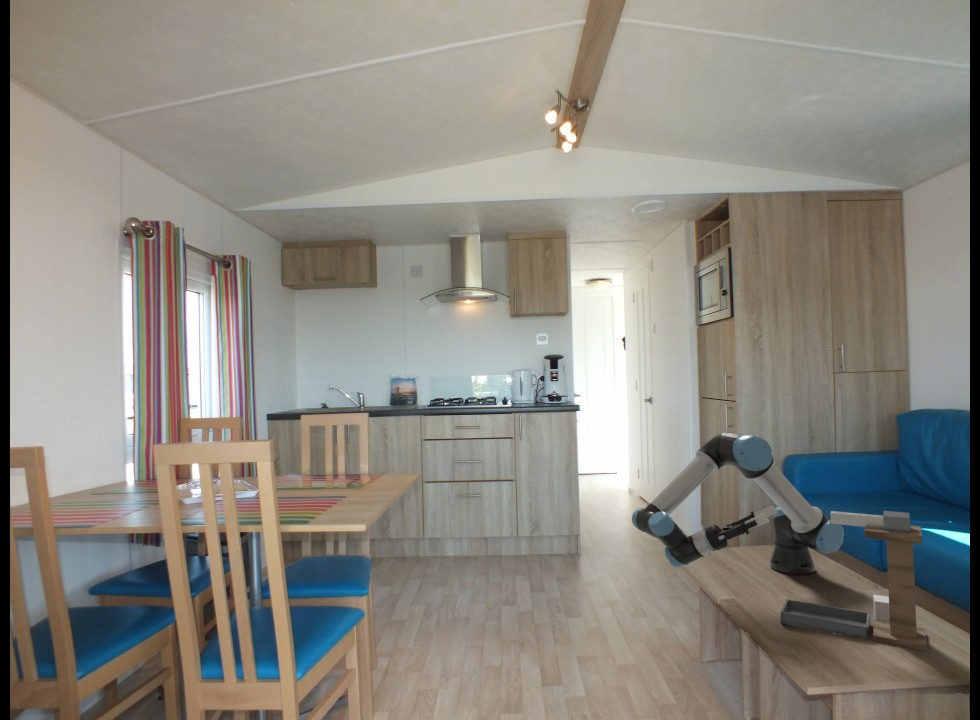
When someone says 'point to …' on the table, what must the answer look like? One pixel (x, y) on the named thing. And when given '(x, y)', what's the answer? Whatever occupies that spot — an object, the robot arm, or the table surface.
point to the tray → (826, 618)
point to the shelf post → (900, 590)
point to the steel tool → (874, 520)
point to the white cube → (881, 608)
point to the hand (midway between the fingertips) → (770, 513)
